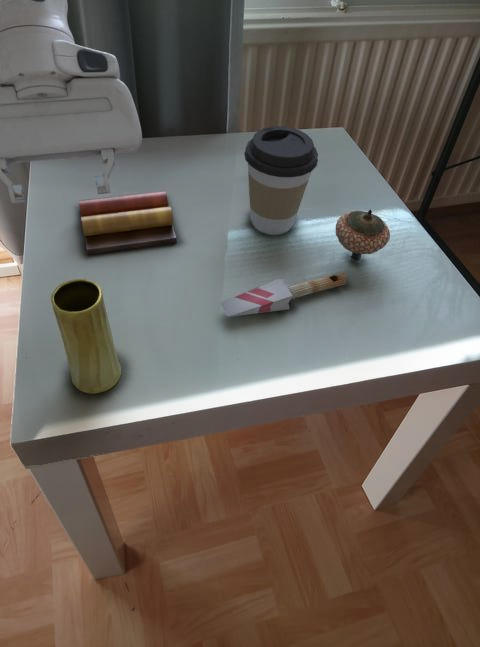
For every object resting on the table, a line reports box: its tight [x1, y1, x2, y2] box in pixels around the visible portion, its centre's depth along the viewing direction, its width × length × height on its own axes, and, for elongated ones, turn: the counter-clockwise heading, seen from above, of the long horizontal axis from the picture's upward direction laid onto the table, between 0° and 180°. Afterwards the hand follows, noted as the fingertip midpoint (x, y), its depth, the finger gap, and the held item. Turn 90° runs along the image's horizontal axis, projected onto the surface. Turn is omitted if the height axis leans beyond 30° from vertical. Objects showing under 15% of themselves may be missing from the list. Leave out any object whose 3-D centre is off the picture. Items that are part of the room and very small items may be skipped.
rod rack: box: [78, 190, 178, 255], centre depth 82 cm, size 14×12×4 cm
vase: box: [50, 278, 122, 394], centre depth 58 cm, size 6×6×14 cm
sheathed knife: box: [219, 272, 348, 318], centre depth 73 cm, size 4×3×20 cm
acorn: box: [335, 208, 391, 262], centre depth 78 cm, size 8×8×10 cm
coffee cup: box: [243, 125, 319, 236], centre depth 81 cm, size 11×11×15 cm
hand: (62, 197), depth 58 cm, fingers open, 8 cm apart
